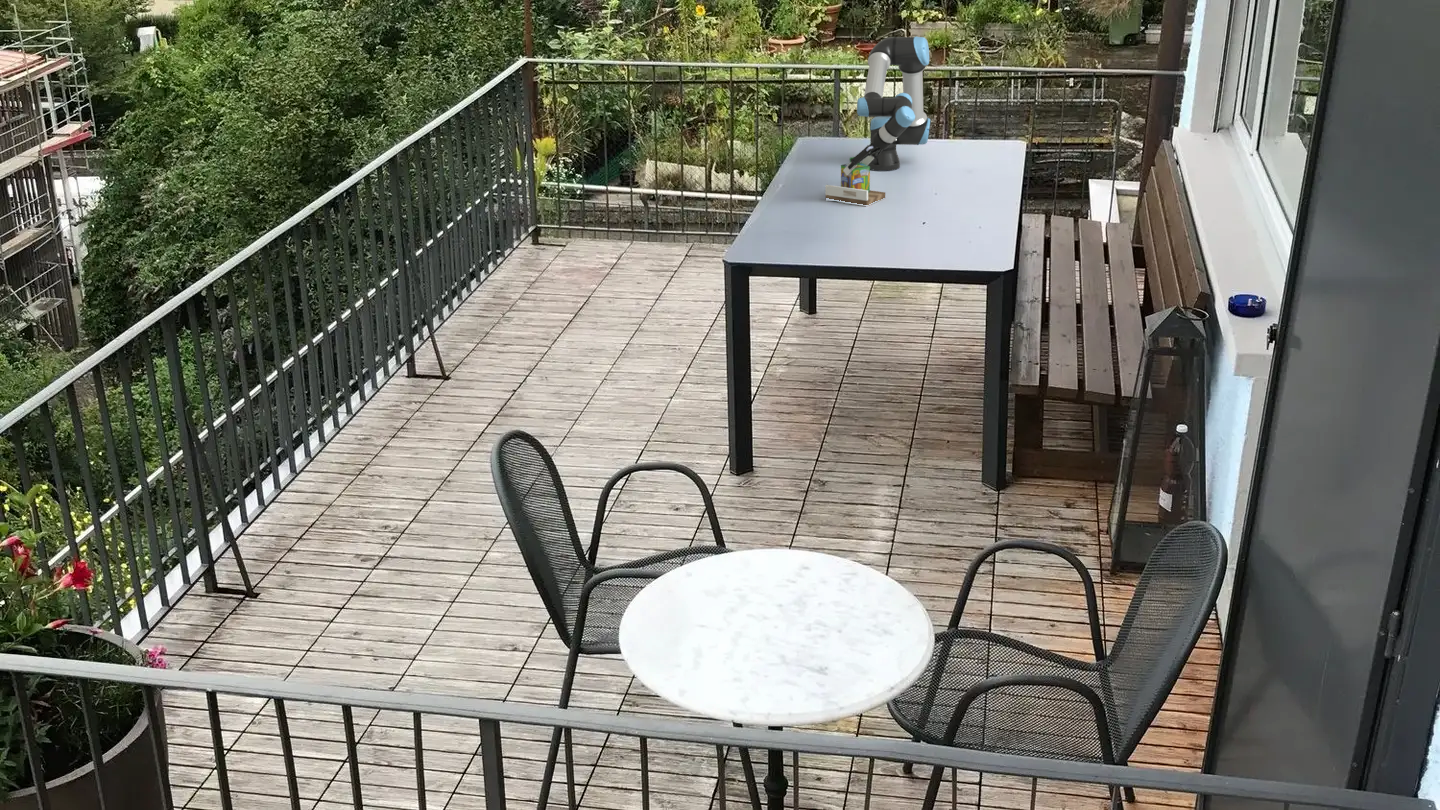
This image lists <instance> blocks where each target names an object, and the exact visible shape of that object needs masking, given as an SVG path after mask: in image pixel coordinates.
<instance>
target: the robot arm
mask: <svg viewBox="0 0 1440 810" xmlns="http://www.w3.org/2000/svg"><path fill="white" fill-rule="evenodd" d="M929 48H930V47H929V42H928V39H927V38H925V37H923V36H917V35H916V36H889V37H885V38H884V39H882V40H879V42H877V43H876V44H875V46H874V45H873V48H872V49H871V50H870V52H869V54H868V57H867V65H868V70H867V71H868V72H867V77H866V82H865V89H864V93H863V97H859V98H858V99H857V101H856V102H857V103H856V113H857V116H858V117H866V118H869V117H871V118H872V117H873V118H872V119H871V120H870V128H869V131H870V136H869V137H870V144H869V145H867V146H865V147H864V149H863V150H861V151H859V153H857V154H856V155H855V156H853V157H854V158H853V159H852V158H851V157H850V158H851V159H850V158H849V163H847V164H848V165H847V166H846V168H845V169H844V170H843V171H844V172H845V174H846V175H848V174H849V173H850V172H851V171H852V170H853V169H854V168H855V167H856V166H857V164H858V163H862V164H865V165H868V166H870V169H874V170H873V171H875V170H889V171H895V170H898V169H899V168H900V167H901V162H900V159H899V155H898V151H897V145H902V146H903V145H904V146H906V145H909V146H912V145H914V146H919V145H920V146H921V145H926V144H927V143H928V140H929V136H930V135H929V134H930V126H931V118H929V117H928V116H927V113H926V112H925V111H924V86H923V85H924V83H923V81H924V79H923V77H924V76H923V75H924V74H923V71H924V70H925V69H926V68H927V66H928V65H929V63H930V49H929ZM890 66H898V70H899V71H900V73H901V74H902V92H900V93H898V94H896V95H895V97H883V96H884V89H885V83H886V77H887V70H888V69H889V68H890ZM850 161H851V162H850ZM897 168H898V169H897ZM894 169H895V170H894Z"/></svg>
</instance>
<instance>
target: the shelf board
mask: <svg viewBox="0 0 1440 810" xmlns="http://www.w3.org/2000/svg"><path fill="white" fill-rule="evenodd" d="M824 191H825V199H826V198H829V199H834V200H839V201H840V200H841V201H845V202H851V203H857V204H863V205H869V204H871V203H873V202H875V201H878V200H880V201H882V200H881V199H883V198H885V199H886V192H885V191H878V190H872V189H870V193H868V190H861V189H854V188H847V187H841V186H839V185H831V184H826V185H825V190H824ZM883 200H884V199H883ZM878 202H879V201H878ZM871 205H872V204H871ZM869 206H870V205H869Z"/></svg>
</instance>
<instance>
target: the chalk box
mask: <svg viewBox="0 0 1440 810" xmlns="http://www.w3.org/2000/svg"><path fill="white" fill-rule="evenodd" d="M854 157H855V156H852V157H849V163H850V162H851V161H850V159H851V158H852V159H853V158H854ZM849 163H844V164H841V165H840V187H847V188H854V189H861V190H868V193H870V190H871V189H870V188H871V187H870V185H871V183H870V182H871V181H870V180H871V170H870V166H868V165H865V164H862V163H861V162H860V163H858V164H857V166H856V167H855V168H854V169H853V170H852V171H851V172H850V173H849V174H848V175H846V174H845V172H844V171H843V170H844V169H845V168H846V166H847V165H848V164H849Z"/></svg>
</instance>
